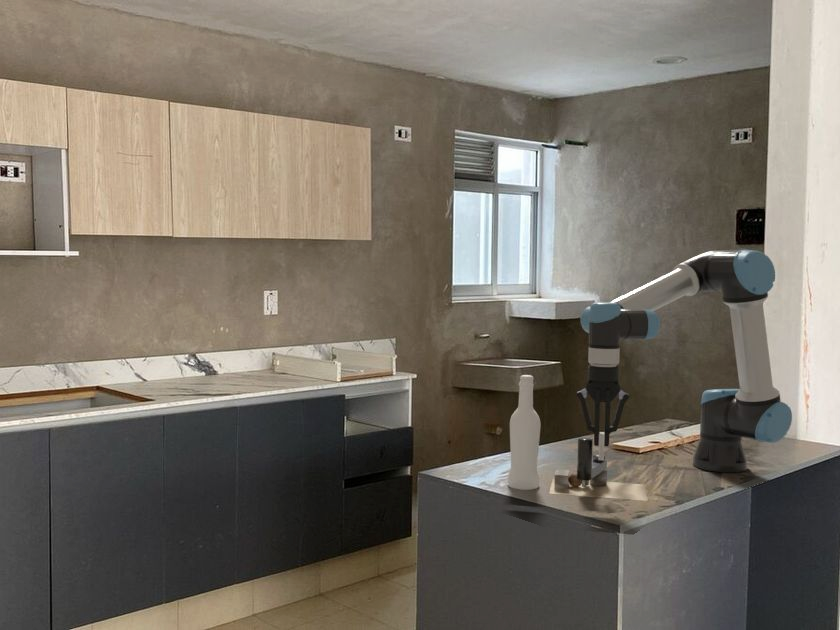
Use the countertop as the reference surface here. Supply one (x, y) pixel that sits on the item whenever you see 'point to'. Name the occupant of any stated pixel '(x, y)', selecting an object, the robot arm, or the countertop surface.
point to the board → (597, 487)
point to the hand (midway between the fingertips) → (601, 458)
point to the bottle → (524, 439)
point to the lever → (588, 462)
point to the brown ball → (574, 480)
